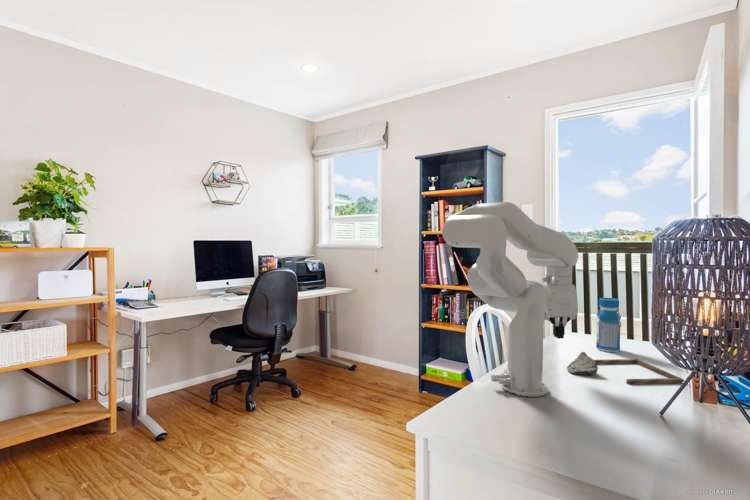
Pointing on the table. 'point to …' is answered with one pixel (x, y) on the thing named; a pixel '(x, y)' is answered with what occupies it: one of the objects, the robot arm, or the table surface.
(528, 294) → the robot arm
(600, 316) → the beverage bottle
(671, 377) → the frame
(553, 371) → the table surface
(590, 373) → the rock sample
